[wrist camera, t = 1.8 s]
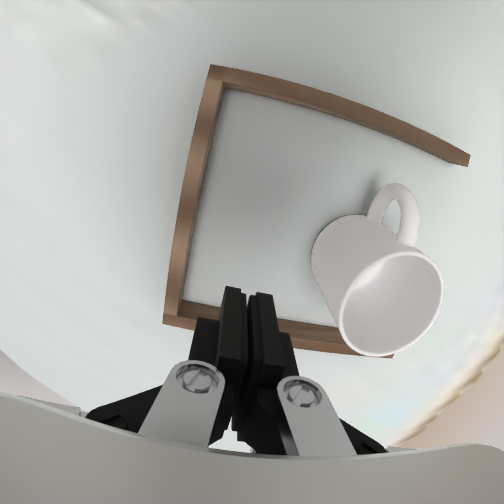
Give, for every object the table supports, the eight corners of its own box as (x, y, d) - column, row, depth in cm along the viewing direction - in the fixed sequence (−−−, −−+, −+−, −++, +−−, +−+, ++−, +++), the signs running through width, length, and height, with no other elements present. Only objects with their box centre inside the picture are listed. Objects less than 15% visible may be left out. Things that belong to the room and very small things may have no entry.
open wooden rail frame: (214, 72, 23) (210, 64, 20) (452, 152, 25) (470, 155, 23) (168, 307, 30) (162, 323, 27) (382, 342, 33) (391, 358, 30)
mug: (335, 162, 26) (385, 177, 16) (411, 188, 27) (478, 216, 17) (298, 284, 30) (321, 351, 20) (371, 299, 31) (414, 360, 21)
